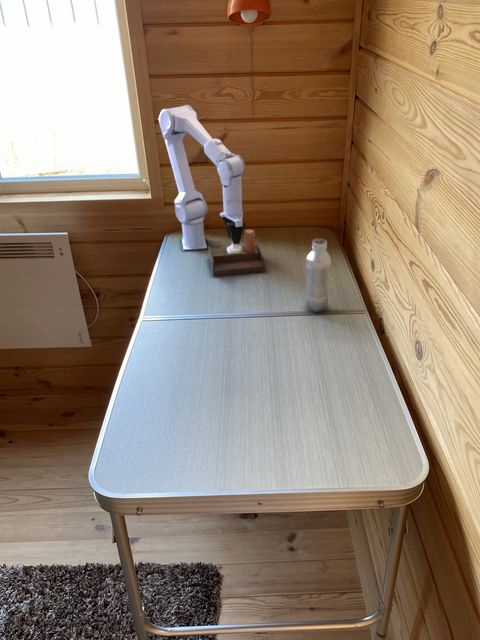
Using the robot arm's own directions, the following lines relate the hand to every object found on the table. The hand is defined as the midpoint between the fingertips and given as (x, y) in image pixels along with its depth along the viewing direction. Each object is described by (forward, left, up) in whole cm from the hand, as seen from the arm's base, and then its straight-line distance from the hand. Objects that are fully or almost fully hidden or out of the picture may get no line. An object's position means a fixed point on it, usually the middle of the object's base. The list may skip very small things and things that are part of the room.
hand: (234, 240), depth 164 cm
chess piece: (0, 0, -3) cm, 3 cm away
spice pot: (0, +5, -3) cm, 6 cm away
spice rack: (+3, 0, -8) cm, 8 cm away
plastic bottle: (+34, +18, -8) cm, 39 cm away
